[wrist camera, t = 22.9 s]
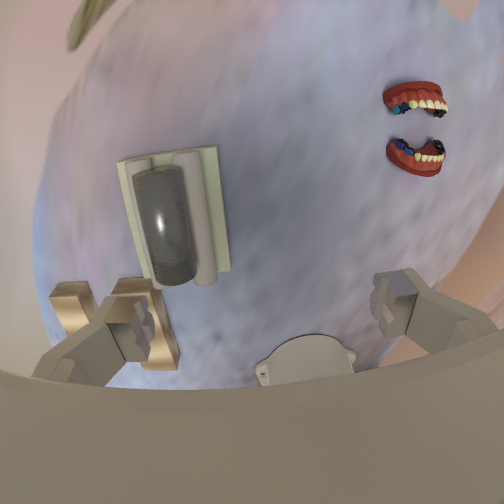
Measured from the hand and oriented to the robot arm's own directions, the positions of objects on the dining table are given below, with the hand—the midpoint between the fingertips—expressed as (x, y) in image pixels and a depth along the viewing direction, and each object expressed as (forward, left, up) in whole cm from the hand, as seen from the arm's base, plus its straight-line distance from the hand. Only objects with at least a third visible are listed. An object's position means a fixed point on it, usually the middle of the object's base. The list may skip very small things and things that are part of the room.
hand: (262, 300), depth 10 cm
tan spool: (-23, +23, -27) cm, 42 cm away
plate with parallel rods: (-6, +9, -27) cm, 29 cm away
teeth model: (+4, -22, -28) cm, 36 cm away
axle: (-5, +9, -23) cm, 25 cm away
